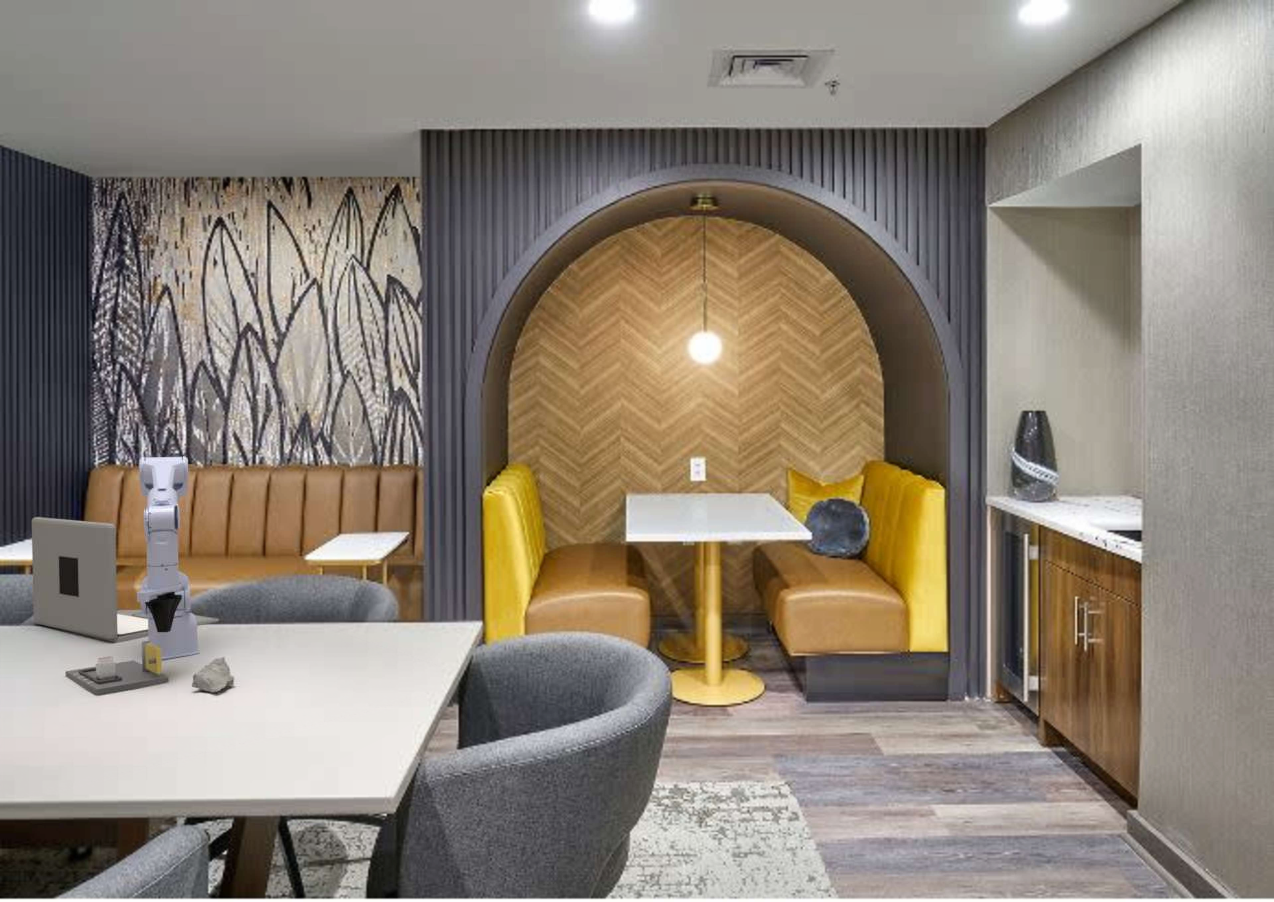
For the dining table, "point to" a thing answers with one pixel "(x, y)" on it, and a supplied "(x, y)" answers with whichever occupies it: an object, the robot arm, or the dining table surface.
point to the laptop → (82, 581)
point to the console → (118, 677)
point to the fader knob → (105, 669)
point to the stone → (213, 676)
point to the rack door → (153, 658)
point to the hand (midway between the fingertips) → (164, 631)
